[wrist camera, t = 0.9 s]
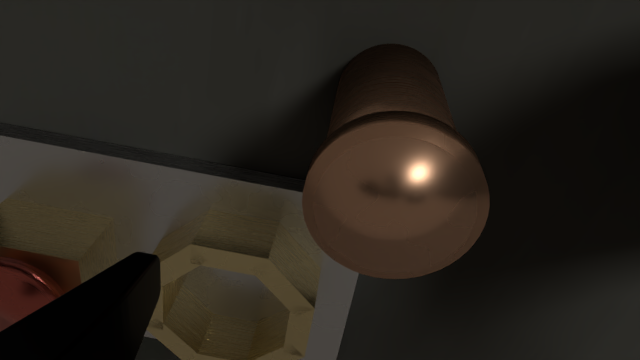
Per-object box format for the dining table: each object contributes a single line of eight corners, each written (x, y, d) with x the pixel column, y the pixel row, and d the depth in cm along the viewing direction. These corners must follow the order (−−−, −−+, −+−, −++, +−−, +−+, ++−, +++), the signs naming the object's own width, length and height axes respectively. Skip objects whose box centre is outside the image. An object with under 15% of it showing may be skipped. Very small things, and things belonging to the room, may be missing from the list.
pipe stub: (465, 47, 18) (519, 147, 11) (430, 157, 20) (457, 295, 13) (340, 24, 18) (315, 109, 11) (321, 137, 20) (291, 264, 13)
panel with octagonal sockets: (376, 193, 21) (375, 275, 17) (334, 357, 27) (325, 452, 22) (-4, 122, 21) (-107, 184, 17) (35, 299, 27) (-35, 382, 22)
